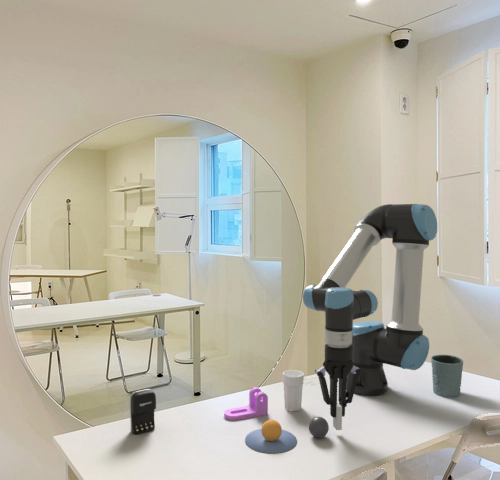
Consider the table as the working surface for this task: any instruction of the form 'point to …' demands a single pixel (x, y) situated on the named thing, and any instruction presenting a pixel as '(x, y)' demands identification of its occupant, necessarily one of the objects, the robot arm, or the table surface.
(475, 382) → the table surface
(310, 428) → the gray ball
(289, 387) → the cup
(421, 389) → the table surface
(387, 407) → the table surface
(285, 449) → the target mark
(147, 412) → the battery charger
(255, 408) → the bracket
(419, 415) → the table surface
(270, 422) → the object ball
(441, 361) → the teal tapered pot
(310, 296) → the robot arm
